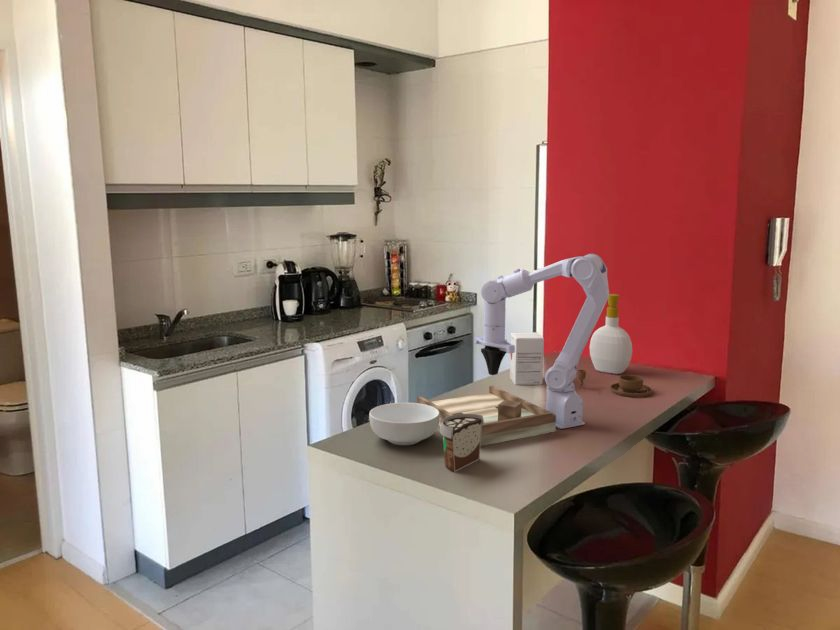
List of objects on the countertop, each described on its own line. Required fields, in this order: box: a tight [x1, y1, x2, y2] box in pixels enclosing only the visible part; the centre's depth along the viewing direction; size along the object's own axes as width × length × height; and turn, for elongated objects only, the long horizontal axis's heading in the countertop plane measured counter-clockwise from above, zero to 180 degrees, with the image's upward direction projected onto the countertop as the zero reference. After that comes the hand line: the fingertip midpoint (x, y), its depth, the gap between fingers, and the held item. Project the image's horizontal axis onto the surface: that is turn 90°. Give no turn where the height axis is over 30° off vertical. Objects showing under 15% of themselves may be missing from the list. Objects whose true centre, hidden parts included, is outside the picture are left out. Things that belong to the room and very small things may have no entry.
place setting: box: [577, 369, 653, 398], centre depth 209 cm, size 18×20×6 cm
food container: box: [439, 414, 484, 473], centre depth 152 cm, size 12×6×10 cm, turn 141°
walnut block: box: [498, 400, 521, 421], centre depth 173 cm, size 4×4×4 cm
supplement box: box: [509, 331, 545, 386], centre depth 217 cm, size 9×9×15 cm
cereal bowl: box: [368, 402, 440, 446], centre depth 166 cm, size 17×17×7 cm
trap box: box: [416, 385, 556, 447], centre depth 179 cm, size 29×24×5 cm
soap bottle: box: [589, 293, 633, 375], centre depth 228 cm, size 14×9×26 cm, turn 52°
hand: (493, 374), depth 187 cm, fingers closed
